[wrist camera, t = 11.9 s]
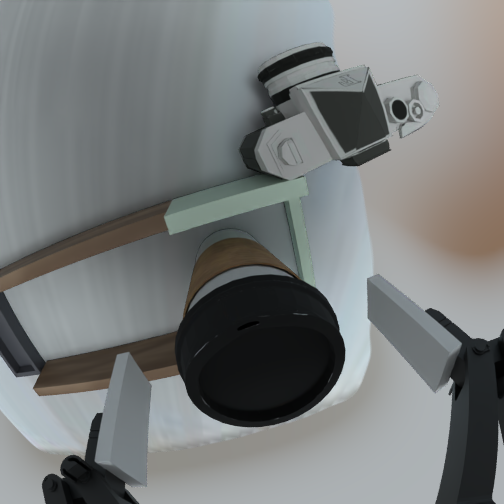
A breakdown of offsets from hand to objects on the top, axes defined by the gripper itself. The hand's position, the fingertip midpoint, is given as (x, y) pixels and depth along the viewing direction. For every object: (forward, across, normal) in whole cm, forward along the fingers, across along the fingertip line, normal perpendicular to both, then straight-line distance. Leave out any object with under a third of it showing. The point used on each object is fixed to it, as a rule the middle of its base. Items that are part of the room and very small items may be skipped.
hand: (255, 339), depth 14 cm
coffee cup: (+12, 0, -1) cm, 12 cm away
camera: (+12, +11, +11) cm, 20 cm away
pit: (+12, -28, -1) cm, 31 cm away
